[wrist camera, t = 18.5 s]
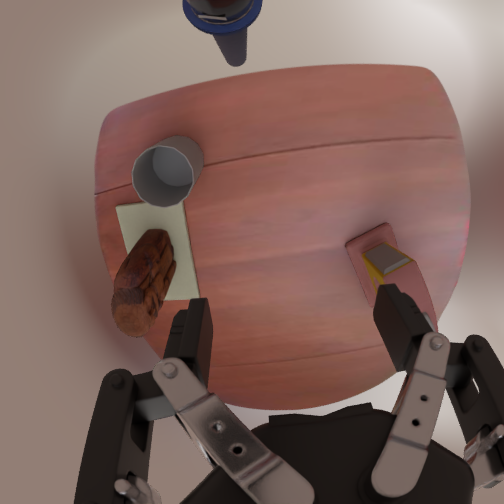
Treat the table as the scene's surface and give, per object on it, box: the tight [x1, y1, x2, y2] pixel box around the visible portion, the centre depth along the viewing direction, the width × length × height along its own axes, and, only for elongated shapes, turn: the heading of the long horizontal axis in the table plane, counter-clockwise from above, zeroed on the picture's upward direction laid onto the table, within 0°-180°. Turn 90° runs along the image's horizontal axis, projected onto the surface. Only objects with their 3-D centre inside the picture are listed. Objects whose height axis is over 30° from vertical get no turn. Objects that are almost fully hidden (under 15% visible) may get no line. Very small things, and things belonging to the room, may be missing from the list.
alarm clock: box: [345, 223, 438, 332], centre depth 46 cm, size 22×9×22 cm, turn 30°
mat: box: [116, 201, 200, 300], centre depth 53 cm, size 20×12×1 cm, turn 4°
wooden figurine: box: [111, 229, 177, 338], centre depth 44 cm, size 12×6×18 cm, turn 1°
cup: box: [131, 135, 204, 208], centre depth 41 cm, size 8×8×10 cm
